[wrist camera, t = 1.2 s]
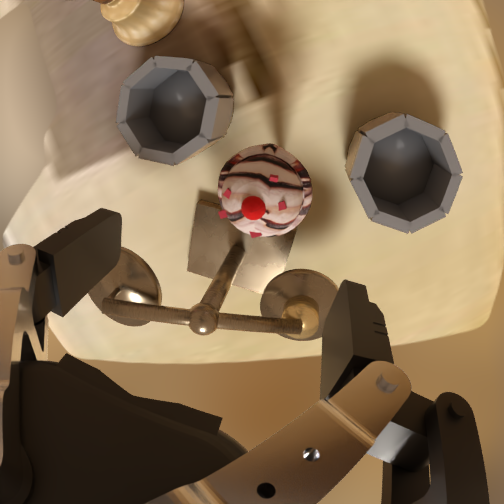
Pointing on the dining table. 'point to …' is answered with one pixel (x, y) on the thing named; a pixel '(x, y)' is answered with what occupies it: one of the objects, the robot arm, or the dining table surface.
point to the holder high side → (174, 109)
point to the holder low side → (403, 171)
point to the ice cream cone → (264, 191)
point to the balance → (223, 284)
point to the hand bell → (142, 19)
